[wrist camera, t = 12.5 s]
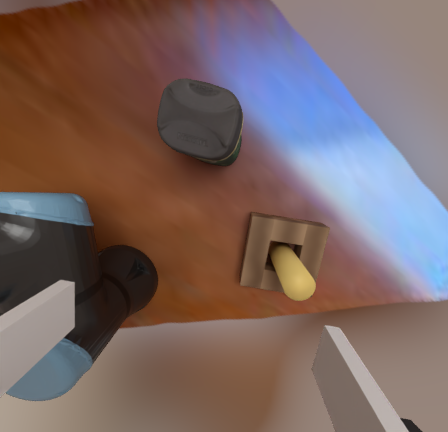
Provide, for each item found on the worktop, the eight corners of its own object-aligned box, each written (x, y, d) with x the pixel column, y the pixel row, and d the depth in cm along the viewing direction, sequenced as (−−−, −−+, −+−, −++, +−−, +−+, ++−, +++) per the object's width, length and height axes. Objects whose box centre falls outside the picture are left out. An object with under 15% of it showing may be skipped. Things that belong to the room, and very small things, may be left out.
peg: (266, 258, 43) (280, 297, 30) (270, 238, 42) (287, 269, 29) (287, 261, 43) (311, 302, 29) (291, 241, 42) (318, 274, 29)
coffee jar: (245, 127, 38) (253, 86, 20) (234, 170, 40) (232, 167, 22) (195, 114, 38) (158, 61, 20) (185, 157, 40) (144, 143, 22)
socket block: (239, 275, 44) (239, 285, 40) (251, 211, 41) (252, 215, 38) (304, 286, 44) (311, 297, 40) (321, 222, 41) (330, 228, 37)
